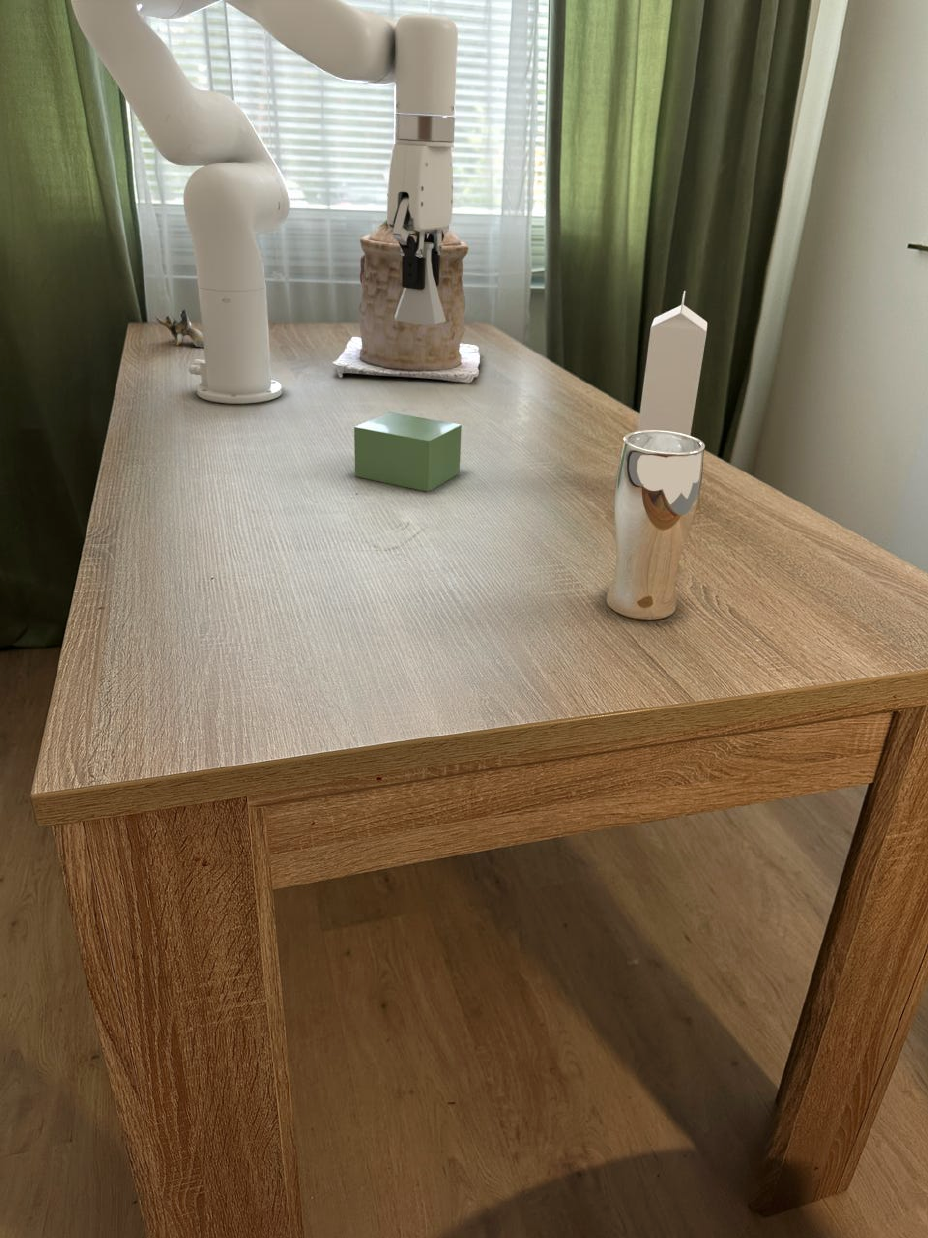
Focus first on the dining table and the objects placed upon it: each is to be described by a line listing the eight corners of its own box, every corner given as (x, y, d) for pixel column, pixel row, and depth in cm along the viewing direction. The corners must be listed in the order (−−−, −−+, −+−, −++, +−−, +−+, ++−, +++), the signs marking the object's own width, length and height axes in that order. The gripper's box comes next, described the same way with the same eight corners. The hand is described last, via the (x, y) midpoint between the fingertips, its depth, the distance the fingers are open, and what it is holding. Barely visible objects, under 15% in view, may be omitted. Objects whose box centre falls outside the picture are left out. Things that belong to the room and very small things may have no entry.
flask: (440, 327, 122) (442, 247, 118) (387, 323, 123) (388, 243, 119) (451, 318, 129) (454, 241, 124) (400, 314, 130) (402, 238, 125)
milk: (629, 491, 109) (653, 296, 98) (633, 475, 114) (656, 288, 104) (682, 497, 108) (711, 300, 97) (683, 480, 113) (711, 291, 102)
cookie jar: (479, 385, 152) (490, 169, 137) (330, 378, 152) (324, 161, 137) (480, 353, 173) (489, 164, 158) (350, 347, 173) (346, 157, 158)
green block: (354, 476, 109) (353, 426, 107) (389, 458, 116) (389, 411, 113) (428, 492, 106) (429, 441, 103) (460, 473, 112) (461, 424, 109)
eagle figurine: (149, 337, 168) (182, 335, 164) (159, 301, 169) (191, 297, 164) (182, 355, 175) (214, 353, 170) (191, 320, 176) (223, 317, 171)
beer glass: (594, 587, 85) (612, 428, 78) (667, 587, 86) (692, 429, 79) (611, 623, 79) (632, 453, 72) (690, 622, 79) (719, 454, 72)
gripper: (429, 132, 123) (425, 277, 132) (363, 129, 110) (364, 290, 119) (479, 135, 120) (472, 283, 129) (418, 132, 107) (415, 297, 116)
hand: (420, 285), depth 124 cm, fingers closed on flask, 3 cm apart
